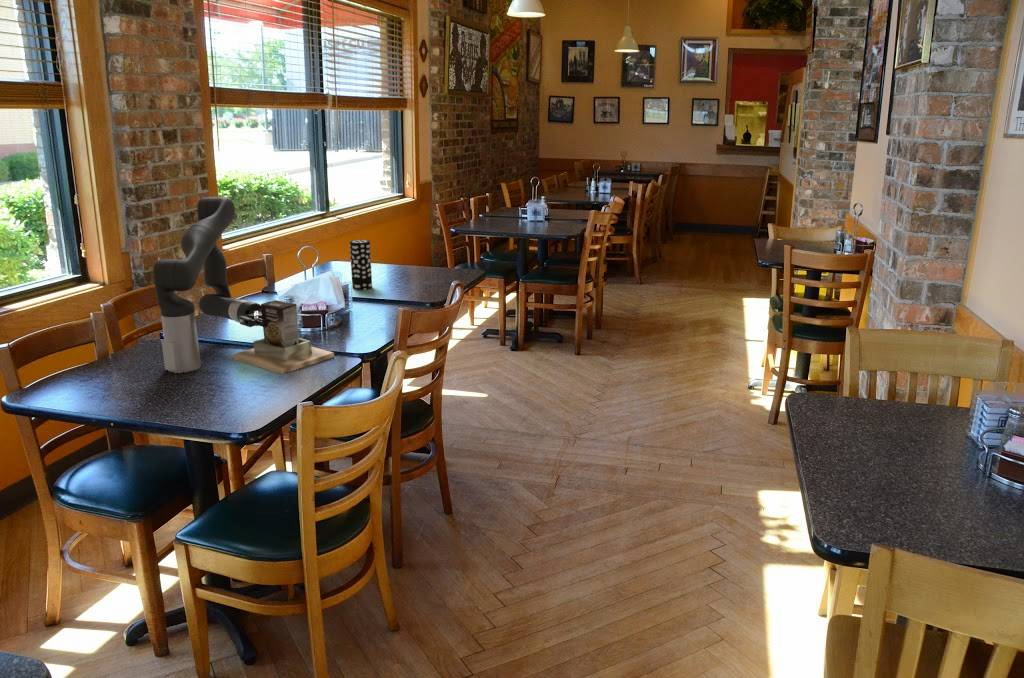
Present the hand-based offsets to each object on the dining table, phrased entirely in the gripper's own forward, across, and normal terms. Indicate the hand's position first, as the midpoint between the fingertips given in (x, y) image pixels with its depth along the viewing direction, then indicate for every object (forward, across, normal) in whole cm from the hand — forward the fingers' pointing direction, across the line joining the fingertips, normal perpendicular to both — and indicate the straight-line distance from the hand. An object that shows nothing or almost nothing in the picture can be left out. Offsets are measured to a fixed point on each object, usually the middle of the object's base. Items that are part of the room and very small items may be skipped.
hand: (278, 320), depth 245 cm
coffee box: (+1, 0, +11) cm, 11 cm away
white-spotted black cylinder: (-48, +80, +12) cm, 94 cm away
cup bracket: (+1, 0, +12) cm, 12 cm away
